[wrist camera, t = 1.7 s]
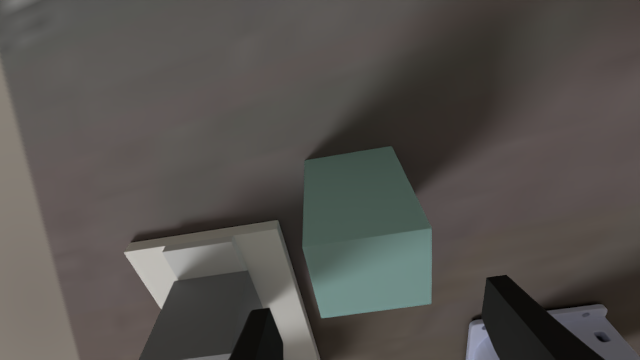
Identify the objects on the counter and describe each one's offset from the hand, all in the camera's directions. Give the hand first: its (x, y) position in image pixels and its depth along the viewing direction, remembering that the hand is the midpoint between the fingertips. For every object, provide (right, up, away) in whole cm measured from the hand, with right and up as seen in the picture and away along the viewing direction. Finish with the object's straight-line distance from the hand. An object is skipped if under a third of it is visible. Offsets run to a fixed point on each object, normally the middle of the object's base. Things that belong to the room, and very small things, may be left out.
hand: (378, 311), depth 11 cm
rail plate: (-7, -7, +13) cm, 16 cm away
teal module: (0, +4, +7) cm, 8 cm away
